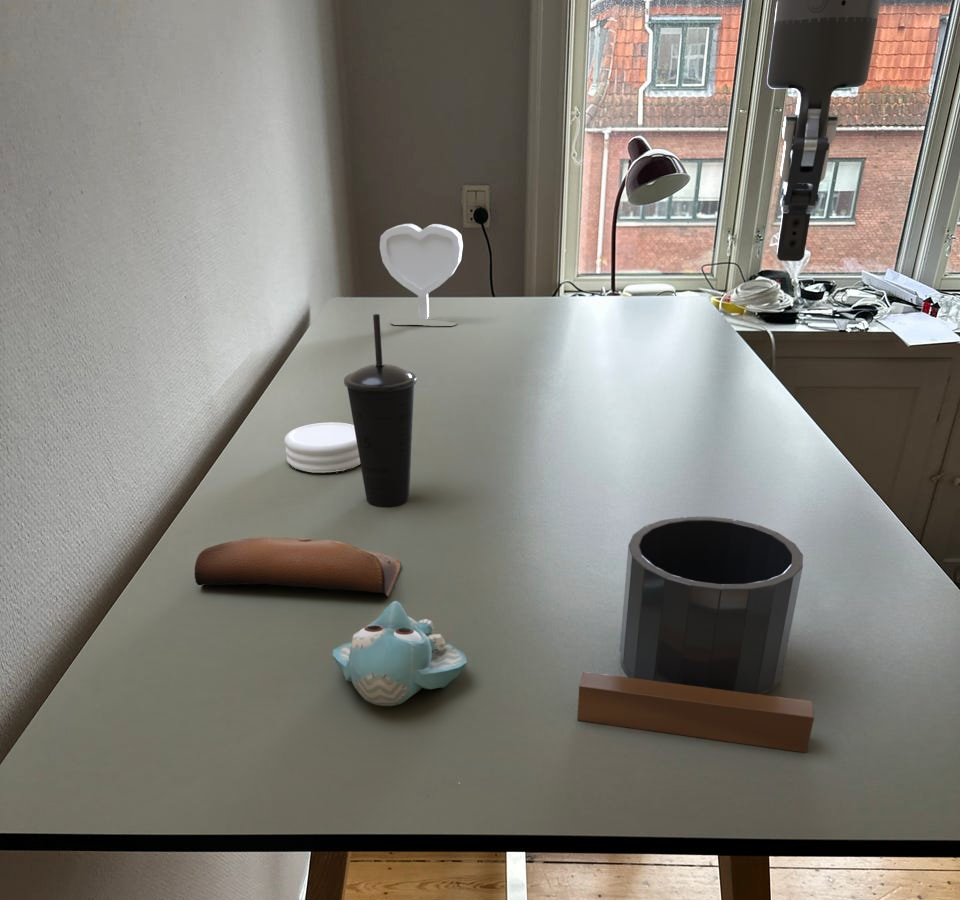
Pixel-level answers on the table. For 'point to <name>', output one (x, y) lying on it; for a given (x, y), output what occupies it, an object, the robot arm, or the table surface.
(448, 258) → the heart sculpture
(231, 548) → the sunglasses case
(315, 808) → the table surface
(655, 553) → the pot
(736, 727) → the block
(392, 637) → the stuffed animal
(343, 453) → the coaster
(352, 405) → the drinking cup
